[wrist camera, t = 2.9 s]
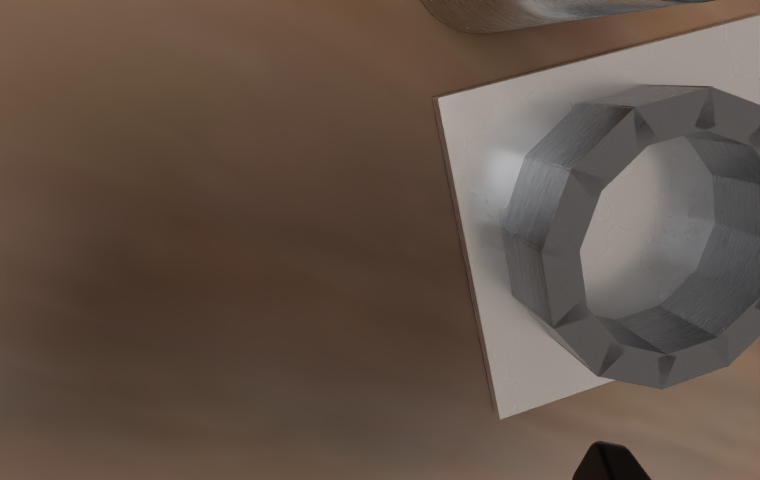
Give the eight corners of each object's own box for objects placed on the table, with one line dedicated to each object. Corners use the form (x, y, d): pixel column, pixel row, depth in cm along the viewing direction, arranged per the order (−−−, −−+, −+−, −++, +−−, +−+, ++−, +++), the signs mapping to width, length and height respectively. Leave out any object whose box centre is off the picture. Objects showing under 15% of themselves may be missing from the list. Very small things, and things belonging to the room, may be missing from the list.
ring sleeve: (764, 318, 25) (845, 357, 22) (493, 411, 24) (536, 468, 20) (752, 15, 22) (848, 4, 18) (431, 97, 20) (471, 102, 17)
